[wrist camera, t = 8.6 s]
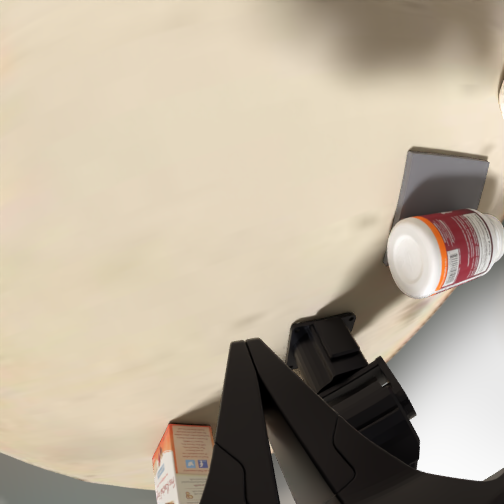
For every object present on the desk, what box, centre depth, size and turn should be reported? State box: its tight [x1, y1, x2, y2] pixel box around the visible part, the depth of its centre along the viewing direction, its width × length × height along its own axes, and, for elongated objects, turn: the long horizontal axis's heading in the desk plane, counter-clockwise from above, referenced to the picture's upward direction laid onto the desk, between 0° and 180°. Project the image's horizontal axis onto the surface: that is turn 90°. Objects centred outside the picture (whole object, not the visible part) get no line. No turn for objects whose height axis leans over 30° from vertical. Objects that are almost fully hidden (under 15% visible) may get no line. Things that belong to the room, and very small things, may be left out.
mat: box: [383, 151, 490, 266], centre depth 24 cm, size 10×11×1 cm
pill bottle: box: [387, 209, 504, 299], centre depth 22 cm, size 6×6×11 cm
